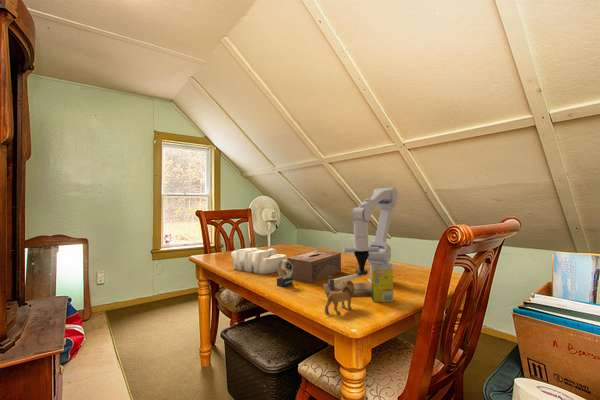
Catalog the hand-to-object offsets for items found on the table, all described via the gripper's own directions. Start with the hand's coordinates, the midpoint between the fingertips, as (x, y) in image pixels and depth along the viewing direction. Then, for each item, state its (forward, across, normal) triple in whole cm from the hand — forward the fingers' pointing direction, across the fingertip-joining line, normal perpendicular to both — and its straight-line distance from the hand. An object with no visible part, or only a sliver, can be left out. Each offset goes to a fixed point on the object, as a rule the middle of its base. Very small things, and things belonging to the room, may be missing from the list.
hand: (361, 269), depth 115 cm
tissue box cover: (+9, -17, +27) cm, 33 cm away
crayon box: (+9, +5, -12) cm, 15 cm away
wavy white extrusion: (+9, -48, +43) cm, 65 cm away
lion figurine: (+9, -12, -18) cm, 24 cm away
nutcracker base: (+9, -6, 0) cm, 10 cm away
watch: (+9, -32, +11) cm, 35 cm away
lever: (+6, -6, 0) cm, 8 cm away
